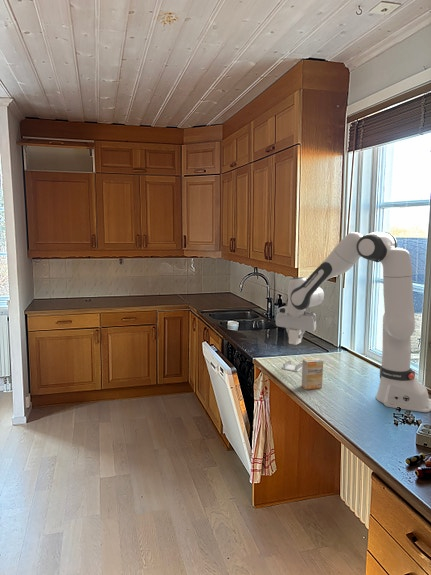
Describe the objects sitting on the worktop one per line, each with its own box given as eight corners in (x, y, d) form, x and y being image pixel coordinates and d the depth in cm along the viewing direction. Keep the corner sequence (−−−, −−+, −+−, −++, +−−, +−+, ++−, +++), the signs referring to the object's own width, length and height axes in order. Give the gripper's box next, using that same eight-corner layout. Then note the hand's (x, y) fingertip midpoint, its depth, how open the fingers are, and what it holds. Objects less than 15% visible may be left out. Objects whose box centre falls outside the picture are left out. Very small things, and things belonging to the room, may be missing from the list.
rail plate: (303, 368, 230) (303, 363, 230) (297, 372, 224) (297, 367, 224) (288, 365, 235) (288, 360, 234) (282, 368, 229) (282, 364, 228)
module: (301, 342, 223) (301, 328, 222) (296, 344, 218) (296, 330, 217) (293, 340, 225) (294, 327, 224) (288, 343, 220) (289, 329, 219)
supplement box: (306, 390, 200) (306, 362, 199) (301, 386, 205) (302, 358, 203) (322, 388, 203) (323, 360, 201) (317, 384, 207) (318, 357, 205)
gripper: (319, 311, 216) (317, 339, 218) (280, 306, 227) (279, 333, 229) (314, 313, 211) (312, 342, 213) (274, 308, 222) (273, 335, 224)
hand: (295, 337), depth 221 cm, fingers closed on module, 4 cm apart
